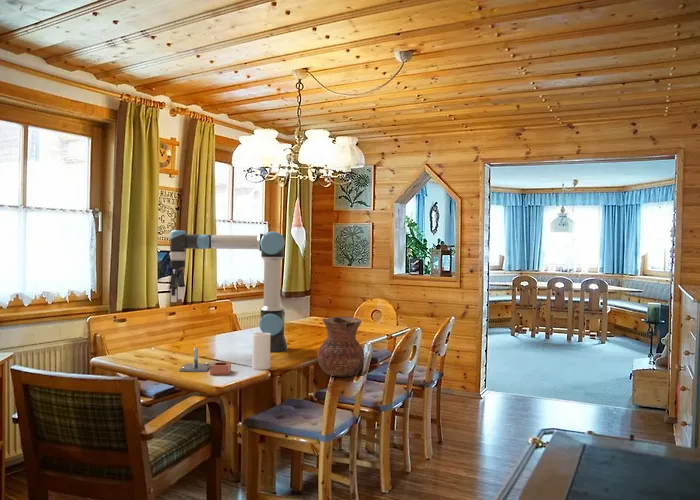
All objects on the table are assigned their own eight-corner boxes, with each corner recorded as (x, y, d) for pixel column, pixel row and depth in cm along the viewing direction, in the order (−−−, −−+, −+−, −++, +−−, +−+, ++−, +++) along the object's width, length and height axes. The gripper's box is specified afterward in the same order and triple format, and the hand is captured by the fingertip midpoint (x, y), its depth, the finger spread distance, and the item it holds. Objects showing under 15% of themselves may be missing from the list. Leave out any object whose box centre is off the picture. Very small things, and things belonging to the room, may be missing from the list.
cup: (253, 365, 261) (253, 332, 260) (270, 365, 261) (270, 332, 261) (251, 369, 252) (251, 335, 252) (269, 369, 253) (269, 335, 253)
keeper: (211, 365, 259) (211, 345, 259) (206, 371, 248) (206, 350, 247) (185, 365, 259) (185, 345, 259) (179, 371, 247) (179, 350, 247)
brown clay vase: (370, 378, 240) (370, 321, 240) (323, 380, 234) (324, 322, 234) (355, 366, 261) (356, 314, 261) (312, 369, 255) (313, 315, 255)
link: (231, 370, 250) (231, 361, 250) (228, 374, 242) (228, 365, 242) (213, 370, 250) (213, 361, 250) (210, 374, 242) (210, 365, 242)
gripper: (176, 259, 296) (176, 298, 297) (163, 260, 272) (162, 303, 272) (190, 259, 297) (190, 298, 297) (178, 260, 272) (178, 303, 272)
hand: (177, 300), depth 284 cm, fingers open, 13 cm apart
